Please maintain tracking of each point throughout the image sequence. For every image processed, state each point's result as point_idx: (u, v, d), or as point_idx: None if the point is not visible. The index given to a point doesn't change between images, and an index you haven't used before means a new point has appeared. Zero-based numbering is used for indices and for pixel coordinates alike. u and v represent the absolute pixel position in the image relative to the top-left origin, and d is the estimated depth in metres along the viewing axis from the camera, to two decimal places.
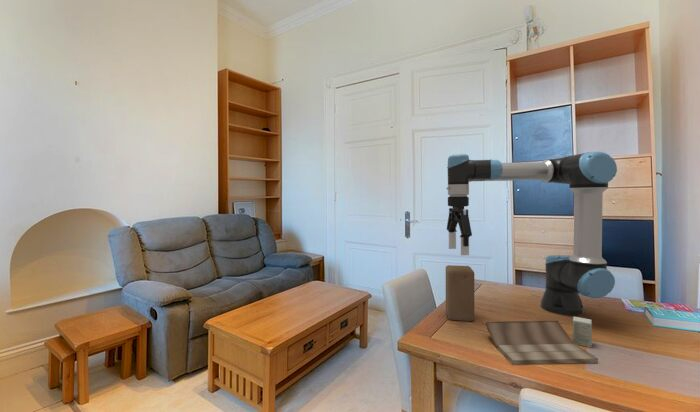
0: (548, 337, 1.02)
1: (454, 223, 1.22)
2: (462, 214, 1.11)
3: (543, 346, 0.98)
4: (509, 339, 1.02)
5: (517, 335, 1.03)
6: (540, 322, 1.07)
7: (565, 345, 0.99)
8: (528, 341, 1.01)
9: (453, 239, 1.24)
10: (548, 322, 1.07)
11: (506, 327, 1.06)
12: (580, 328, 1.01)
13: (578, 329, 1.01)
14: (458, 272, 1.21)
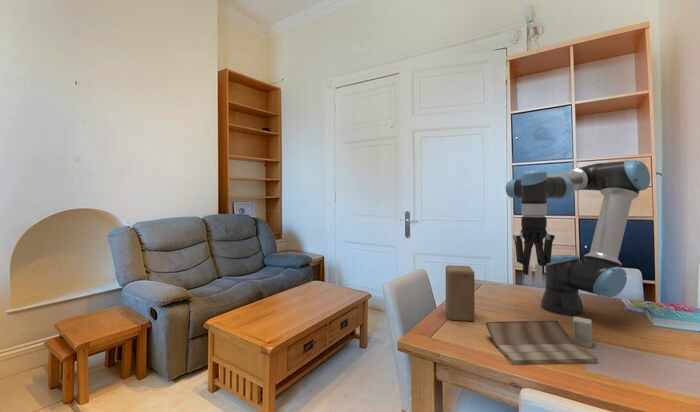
0: (548, 337, 1.02)
1: (538, 250, 1.07)
2: (515, 240, 1.08)
3: (543, 346, 0.98)
4: (509, 339, 1.02)
5: (517, 335, 1.03)
6: (540, 322, 1.07)
7: (565, 345, 0.99)
8: (528, 341, 1.01)
9: (538, 273, 1.07)
10: (548, 322, 1.07)
11: (506, 327, 1.06)
12: (580, 328, 1.01)
13: (578, 329, 1.01)
14: (458, 272, 1.21)
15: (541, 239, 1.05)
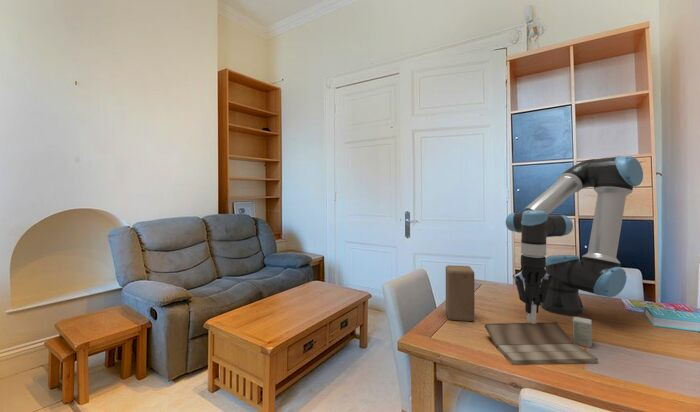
0: (548, 337, 1.02)
1: (534, 289, 1.08)
2: (515, 279, 1.09)
3: (543, 346, 0.98)
4: (509, 339, 1.02)
5: (517, 336, 1.03)
6: (539, 324, 1.08)
7: (565, 345, 0.99)
8: (528, 341, 1.01)
9: None
10: (547, 324, 1.08)
11: (505, 328, 1.06)
12: (580, 328, 1.01)
13: (578, 329, 1.01)
14: (458, 272, 1.21)
15: (539, 279, 1.06)
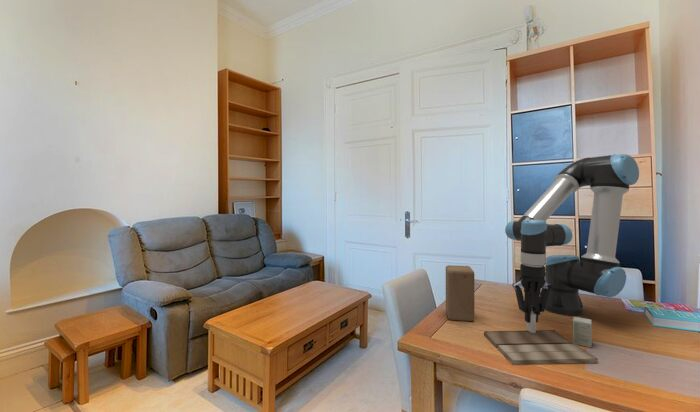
0: (546, 339, 1.03)
1: (534, 298, 1.08)
2: (515, 289, 1.09)
3: (543, 346, 0.98)
4: (508, 340, 1.02)
5: (515, 338, 1.04)
6: (537, 331, 1.09)
7: (565, 345, 0.99)
8: (527, 341, 1.02)
9: None
10: (545, 331, 1.09)
11: (504, 334, 1.07)
12: (580, 328, 1.01)
13: (578, 329, 1.01)
14: (458, 272, 1.21)
15: (539, 288, 1.06)
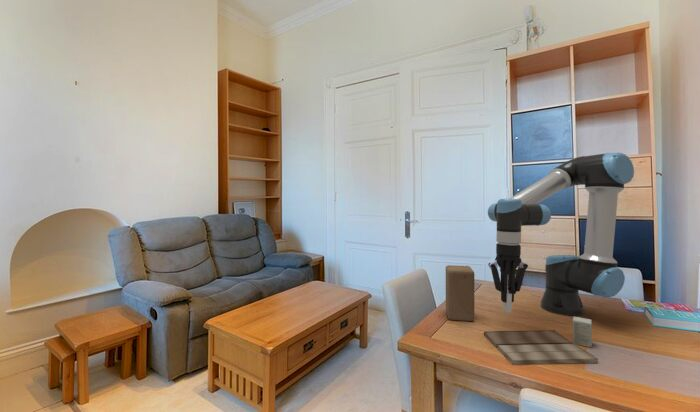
0: (546, 339, 1.03)
1: (510, 277, 1.07)
2: (491, 268, 1.08)
3: (543, 346, 0.98)
4: (508, 340, 1.02)
5: (515, 338, 1.04)
6: (537, 331, 1.09)
7: (565, 345, 0.99)
8: (527, 341, 1.02)
9: None
10: (545, 331, 1.09)
11: (504, 334, 1.07)
12: (580, 328, 1.01)
13: (578, 329, 1.01)
14: (458, 272, 1.21)
15: (514, 267, 1.05)
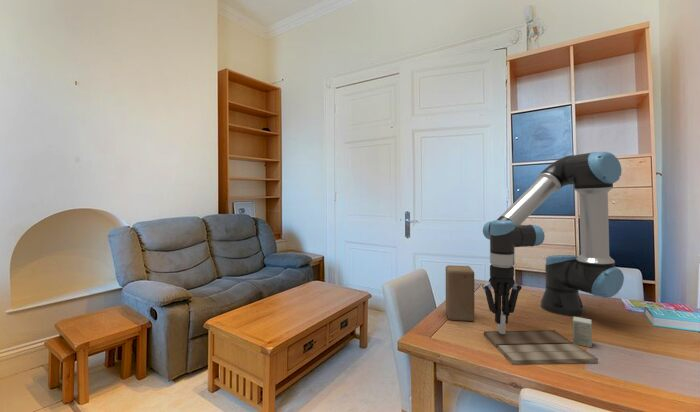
0: (546, 339, 1.03)
1: (503, 299, 1.07)
2: None
3: (543, 346, 0.98)
4: (508, 340, 1.02)
5: (515, 338, 1.04)
6: (537, 331, 1.09)
7: (565, 345, 0.99)
8: (527, 341, 1.02)
9: None
10: (545, 331, 1.09)
11: (504, 334, 1.07)
12: (580, 328, 1.01)
13: (578, 329, 1.01)
14: (458, 272, 1.21)
15: (508, 289, 1.06)
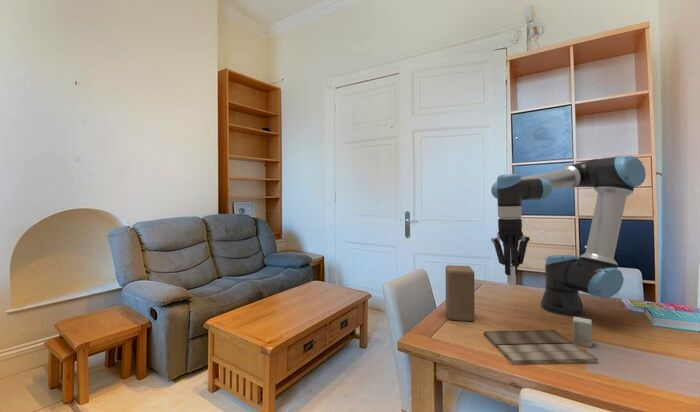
0: (546, 339, 1.03)
1: (512, 251, 1.10)
2: None
3: (543, 346, 0.98)
4: (508, 340, 1.02)
5: (515, 338, 1.04)
6: (537, 331, 1.09)
7: (565, 345, 0.99)
8: (527, 341, 1.02)
9: None
10: (545, 331, 1.09)
11: (504, 334, 1.07)
12: (580, 328, 1.01)
13: (578, 329, 1.01)
14: (458, 272, 1.21)
15: (517, 240, 1.08)
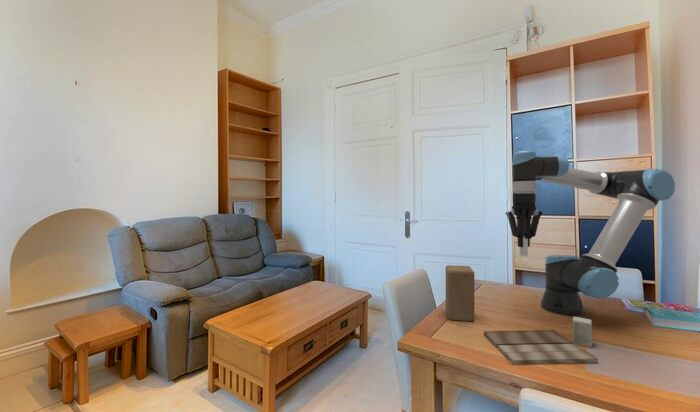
0: (546, 339, 1.03)
1: (525, 224, 1.16)
2: (508, 216, 1.17)
3: (543, 346, 0.98)
4: (508, 340, 1.02)
5: (515, 338, 1.04)
6: (537, 331, 1.09)
7: (565, 345, 0.99)
8: (527, 341, 1.02)
9: None
10: (545, 331, 1.09)
11: (504, 334, 1.07)
12: (580, 328, 1.01)
13: (578, 329, 1.01)
14: (458, 272, 1.21)
15: (530, 214, 1.14)
